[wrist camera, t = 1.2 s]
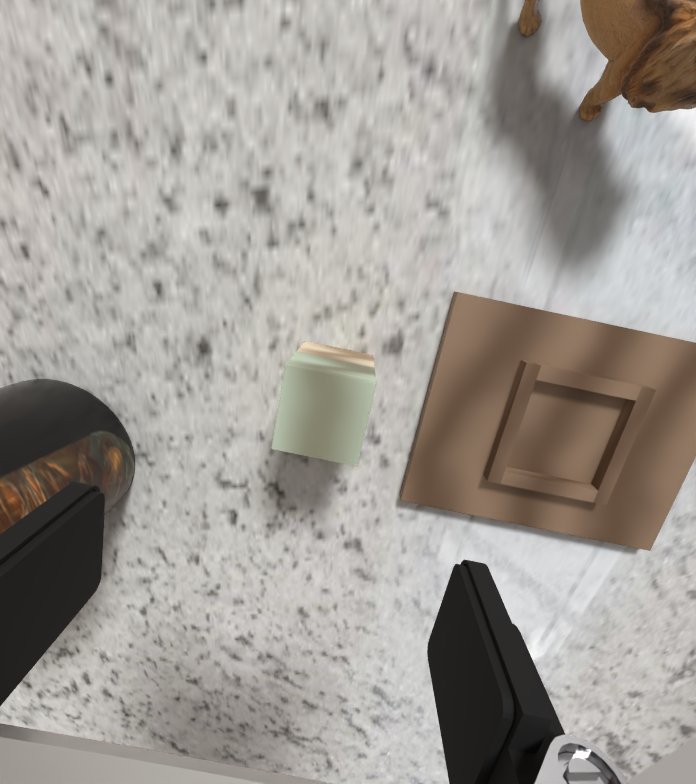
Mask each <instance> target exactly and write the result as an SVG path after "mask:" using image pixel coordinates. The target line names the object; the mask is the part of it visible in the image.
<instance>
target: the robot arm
mask: <svg viewBox="0 0 696 784" xmlns="http://www.w3.org/2000/svg"><path fill="white" fill-rule="evenodd" d="M104 509H105V495H104V494H103V493H100V489H99V487H98V486H95V485H90V484H85V483H80V482H72V483H70V484H69V485H67V486H66V487H64V488H63V489H62V490H60V491H59V492H58V493H56V494H55V495H53V496H52V497H51V498H49V499H48V500H47V501H45V502H44V503H42V504H41V505H40V506H38V507H37V508H36V509H34V510H33V511H31V512H30V513H29V514H27V515H26V516H25V517H23V518H22V519H20V520H19V521H18V522H16V523H15V524H13V525H12V526H11V527H9V528H8V529H7V530H5V531H4V532H2V533H1V534H0V706H1V705H2V703H3V702H4V701H5V700H6V699H7V697H8V696H9V695H10V694H11V693H12V691H13V690H14V689H15V688H16V687H17V685H18V684H19V683H20V682H21V681H22V679H23V678H24V677H25V676H26V675H27V673H28V672H29V671H30V670H31V669H32V667H33V666H34V665H35V664H36V663H37V661H38V660H39V659H40V658H41V657H42V655H43V654H44V653H45V652H46V651H47V649H48V648H49V647H50V646H51V645H52V643H53V642H54V641H55V640H56V639H57V637H58V636H59V635H60V634H61V633H62V631H63V630H64V629H65V628H66V626H67V625H68V624H69V623H70V622H71V620H72V619H73V618H74V617H75V616H76V614H77V613H78V612H79V611H80V610H81V608H82V607H83V606H84V605H85V604H86V602H87V601H88V600H89V599H90V598H91V596H92V595H93V594H94V593H95V591H96V590H97V588H98V586H99V583H100V580H101V569H102V549H103V529H104ZM427 653H428V662H429V667H430V673H431V679H432V685H433V691H434V696H435V702H436V708H437V714H438V719H439V725H440V731H441V737H442V743H443V748H444V754H445V760H446V766H447V771H448V777H449V783H450V784H628V782H627V780H626V779H625V777H624V775H623V774H622V772H621V771H620V770H619V769H618V767H617V766H616V765H615V764H614V763H613V761H612V760H611V759H610V758H609V757H608V756H606V755H605V754H604V753H603V752H602V751H601V750H600V749H599V748H597V747H596V746H594V745H593V744H591V743H590V742H588V741H587V740H584V739H582V738H579V737H577V736H574V735H565V733H564V730H563V728H562V726H561V724H560V721H559V719H558V717H557V715H556V712H555V710H554V708H553V706H552V703H551V701H550V699H549V696H548V694H547V692H546V690H545V687H544V685H543V683H542V681H541V678H540V676H539V674H538V672H537V669H536V667H535V665H534V663H533V660H532V658H531V656H530V653H529V651H528V649H527V647H526V644H525V642H524V640H523V638H522V635H521V633H520V631H519V630H518V628H517V626H515V625H514V624H512V622H511V620H510V617H509V615H508V613H507V610H506V608H505V606H504V603H503V601H502V599H501V597H500V594H499V592H498V590H497V587H496V585H495V583H494V580H493V578H492V576H491V573H490V571H489V569H488V567H487V565H486V564H484V563H479V562H474V561H469V560H463V561H462V562H461V565H460V564H455V566H454V568H453V571H452V574H451V577H450V579H449V582H448V585H447V588H446V591H445V594H444V597H443V600H442V603H441V606H440V609H439V612H438V615H437V618H436V621H435V624H434V627H433V630H432V633H431V636H430V639H429V642H428V650H427ZM0 784H331V783H326V782H321V781H315V780H310V779H305V778H300V777H294V776H289V775H284V774H278V773H273V772H268V771H262V770H257V769H251V768H246V767H241V766H235V765H230V764H224V763H219V762H213V761H208V760H203V759H197V758H192V757H186V756H181V755H175V754H170V753H164V752H159V751H153V750H148V749H142V748H137V747H131V746H125V745H120V744H114V743H108V742H103V741H97V740H91V739H86V738H80V737H74V736H69V735H63V734H57V733H52V732H46V731H40V730H35V729H29V728H23V727H18V726H12V725H6V724H0Z"/></svg>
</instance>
